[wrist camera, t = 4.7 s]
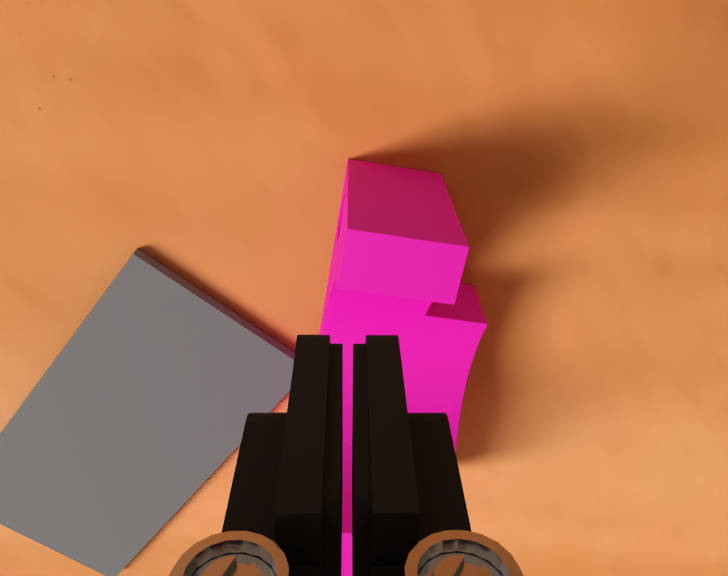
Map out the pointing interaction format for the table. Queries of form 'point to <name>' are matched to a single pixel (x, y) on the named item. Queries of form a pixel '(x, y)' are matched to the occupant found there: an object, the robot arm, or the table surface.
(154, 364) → the felt pad
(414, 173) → the toy block
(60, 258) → the table surface
